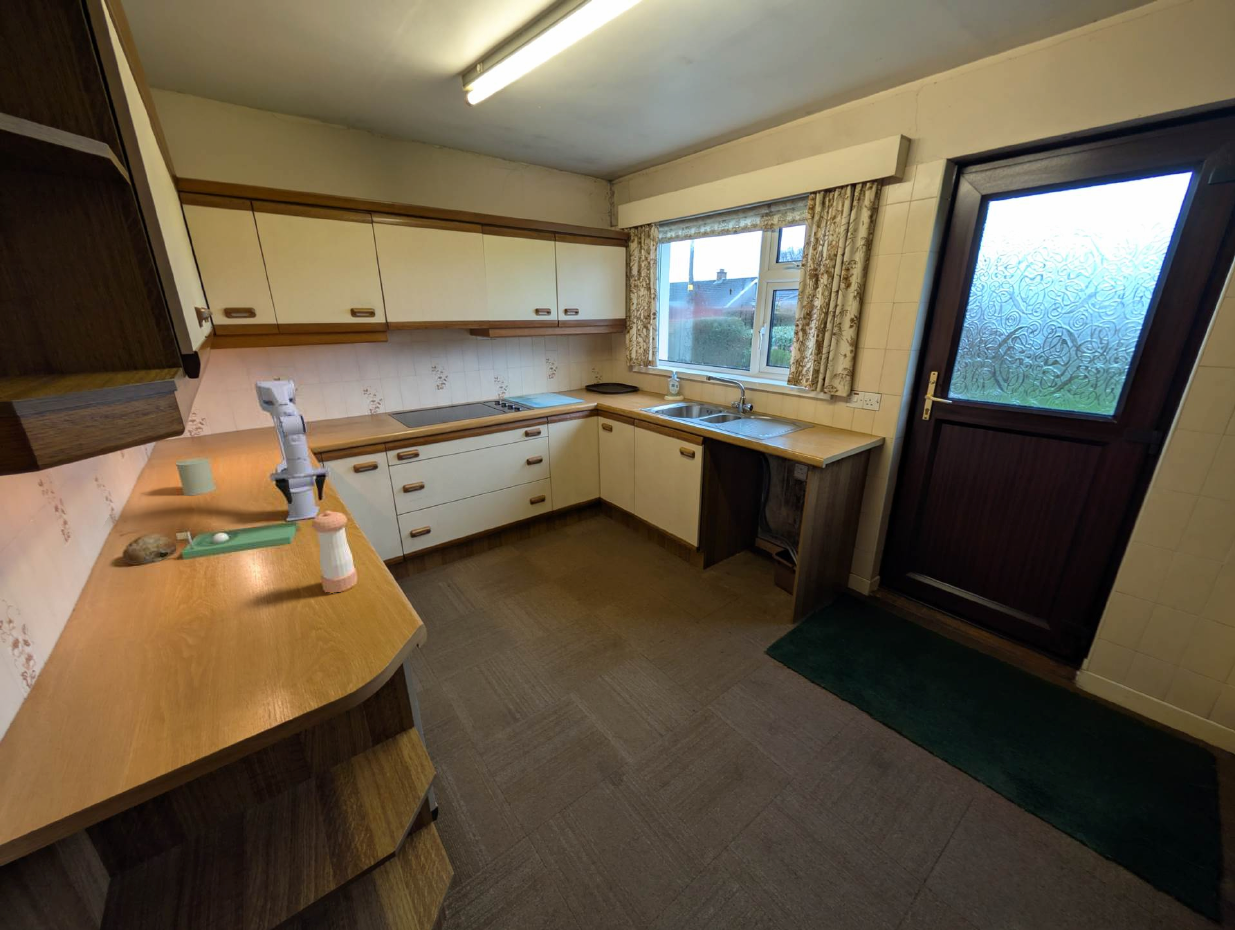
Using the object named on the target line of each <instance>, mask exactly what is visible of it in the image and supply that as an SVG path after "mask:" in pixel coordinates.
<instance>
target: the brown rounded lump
mask: <svg viewBox="0 0 1235 930" xmlns="http://www.w3.org/2000/svg"><path fill="white" fill-rule="evenodd" d="M176 550H177V545H176V543H175V542H174V540H172V539H171V538H170V537H167V536H163V535H162V534H156V533H153V534H145V535H141V536H138V537H137V538H135V539H133V540H132V541H131V542H129V543H128V544H127V545H126V547H125V549H124V550H123V551H122V558H123V560H124V562H125V563H127V564H129V565H133V566H134V565H135V566H136V565H137V566H139V565H148V564H152V563H158V562H159V561H162V560H164V559H166V558H168V557H171V556H172V555H174V554H175V553H176Z"/></svg>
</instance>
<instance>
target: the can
mask: <svg viewBox="0 0 1235 930" xmlns="http://www.w3.org/2000/svg"><path fill="white" fill-rule="evenodd" d="M175 465H176V467H177V473H178V475H179V478H180V483H181V485H182V491H183V495H184V496H199V495H200V496H202V495H204V494H209V493H212V492H214V491H216V490H217V487H216V484H215V479H214V476H213V473H212V468H211V463H210V459H209V458H208V457H194V458H193V457H192V458H189V459H188V458H187V459H182V460H180V461H177V462H176V463H175Z"/></svg>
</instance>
